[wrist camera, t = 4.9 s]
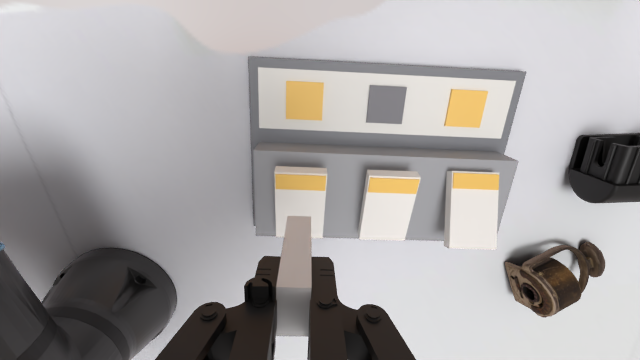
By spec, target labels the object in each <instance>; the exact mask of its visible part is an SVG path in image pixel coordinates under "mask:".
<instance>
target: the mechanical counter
mask: <svg viewBox="0 0 640 360" xmlns="http://www.w3.org/2000/svg"><path fill="white" fill-rule="evenodd" d="M566 249H568V250H570V251H572V252H573V253H574V254H575V255H576V256H577V258H578V264H579V268H580V278H579V281H578V280H577V279H576V277H575V276H574V275H573V273H572V272H571V271H570V270H569V269H568V268H567V267H566V266H564V265H563V264H562V263H560V262H559V261H557V260H555V259H553V258H549V257H551V256H553V255H555V254H557V253H559V252H561V251H563V250H566ZM505 267H506V270H507V274H508V278H509V281H510V285H511V288H512V291H513V295H514V298H515V300H516V301H518V302H519V303H521V304H523V305H524V306H526V307H528V308H530V309H531V310H533V311H534V312H535V313H536V314H537V315H539V316H541V317H547V316H552V315H554V314H556V313H557V312H559V311H561V310H562V309H564V308H566V307H568V306H569V305H571V304H573V303H575V302H577V301H578V300H579V299H580V297H581V293H582V292H583V291H584V289H585V287H586V285H587V282H588V278H589V275H590V276H591V277H599V276H601V275H602V273H603V271H604V269H605V260H604V257H603V254H602V252H601V251H600V250H599V249H598V248H597V247H596V246H595V245H594V244H592V243H591V242H585V243H583V244H582V245H581V246H580V250H578V249H576V248H574V247H571V246H567V245H560V246H556V247H553V248H551V249H549V250H547V251H545V252H544V253H542V254H540V255H537V256H535V257H533V258H531V259H530V260H528V261H526V262H524V263H523V264H522V266H518V265H515V264H512V263H510V262H505Z"/></svg>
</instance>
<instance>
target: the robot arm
mask: <svg viewBox="0 0 640 360" xmlns="http://www.w3.org/2000/svg"><path fill="white" fill-rule="evenodd" d="M4 248H5V245H4V244H3V243H2V242H0V360H131V359H132V358H133V357H134V356H135V355H136V354H138V353H139V352H140V351H141V350H142V349H143V348H144V347H145V346H146V345H147V344H148V343H149V342H150V341H151V340H153V339H154V338H155V337H157V336H158V335H159V334H160V333H161V332H162V331H163V330H164V328H165V327H166V325H167V324H168V322H169V320H170V319H171V317H172V315H173V313H174V311H175V308H176V302H177V298H176V292H175V288H174V286H173V284H172V282H171V280H170V278H169V277H168V275H167V274H166V273H165V272H164V271H163V270H162V269H161V268H160V267H159V266H158V265H157V264H155V263H154V262H153V261H151V260H150V259H148V258H146V257H144V256H142V255H140V254H137V253H135V252H131V251H128V250H123V249H116V248H103V249H97V250H93V251H90V252H87V253H85V254H83V255H81V256H80V257H78V258H77V259H76V260H74V261H73V262H72V263H71V264H69V265H68V266H67V267H66V268H65V269H64V270H63V271H62V272H61V273H60V274H59V275H58V277H57V278H56V280H55V282H54V284H53V286H52V288H51V289H50V290H49V292H48V293H47V295H46V296H45V298H44V300H43V301H42V303H41V302H40V300H39V299H38V298H37V296H36V295H35V294H34V292H33V291H32V290H31V288H30V287H29V285H28V284H27V283H26V281H25V280H24V279H23V277H22V276H21V274H20V273H19V271H18V270H17V269H16V267H15V266H14V264H13V263H12V261H11V260H10V258H9V257H8V256H7V254H6V253H5V251H4V250H3V249H4ZM244 291H245V302H244V303H242V304H240V305H238V306H235V307H232V308H227V309H225V307H224V306H223V304H220V303H218V302H210V303H205V304H203V305H201V306H199V307H198V308H197V309H196V310H195V311H194V312H193V313H192V315H191V316H190V317H189V318H188V320H187V321H186V322H185V323H184V324H183V326H182V327H181V328H180V329H179V331H178V332H177V333H176V334H175V336H174V337H173V338H172V339H171V341H170V342H169V343H168V344H167V345H166V347H165V348H164V349H163V350H162V352H161V353H160V354H159V355H158V357H157V358H156V359H155V360H274V354H275V337H276V336H309V340H308V359H307V360H347V359H348V360H416V359H415V357H414V356H413V354H412V353H411V351H410V349H409V348H408V346H407V345H406V343H405V341H404V340H403V338H402V337H401V335H400V333H399V332H398V330H397V329H396V327H395V325H394V324H393V322H392V321H391V319H390V317H389V316H388V314H387V313H386V312H385V311H384V309H382V308H381V307H379V306H376V305H373V304H366V305H363V306H361V307H360V308H359V309H358V310H355V309H352V308H349V307H347V306H345V305H343V304H342V303H341V302H340V301H339V299H338V296H337V289H336V281H335V272H334V264H333V262H332V261H331V259H330V258H329V257H311V217H309V216H287V222H286V228H285V234H284V241H283V247H282V253H281V257H275V256H264V257H263V258H262V259H261V260H260V261H259V263H258V267H257V271H256V275H255V278H252V279H250V280H249V281H247V282H246V284H245V286H244Z"/></svg>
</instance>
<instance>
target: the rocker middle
mask: <svg viewBox="0 0 640 360" xmlns="http://www.w3.org/2000/svg"><path fill="white" fill-rule="evenodd" d="M420 179H421V177H420V175H419V174H418V172H416V171H390V170H367V175H366V181H365V188H364V195H363V201H362V208H361V214H360V221H359V227H358V236H359V240H392V241H405V237H406V233H407V229H408V225H409V221H410V218H411V214H412V210H413V206H414V202H415V198H416V194H417V191H418V187H419V183H420Z"/></svg>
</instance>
